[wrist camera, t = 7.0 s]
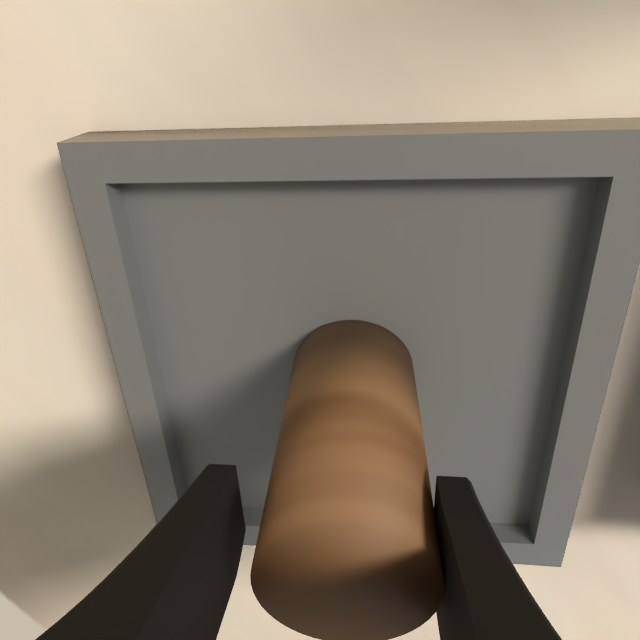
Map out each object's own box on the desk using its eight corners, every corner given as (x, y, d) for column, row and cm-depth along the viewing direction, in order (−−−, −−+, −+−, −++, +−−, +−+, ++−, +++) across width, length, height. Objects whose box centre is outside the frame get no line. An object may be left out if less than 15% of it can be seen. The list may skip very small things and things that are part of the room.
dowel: (410, 419, 17) (438, 647, 11) (297, 418, 17) (260, 639, 11) (416, 319, 15) (451, 522, 9) (288, 320, 15) (239, 517, 9)
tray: (548, 528, 19) (560, 567, 18) (176, 504, 21) (161, 538, 20) (642, 117, 13) (673, 128, 11) (89, 131, 14) (56, 142, 13)
